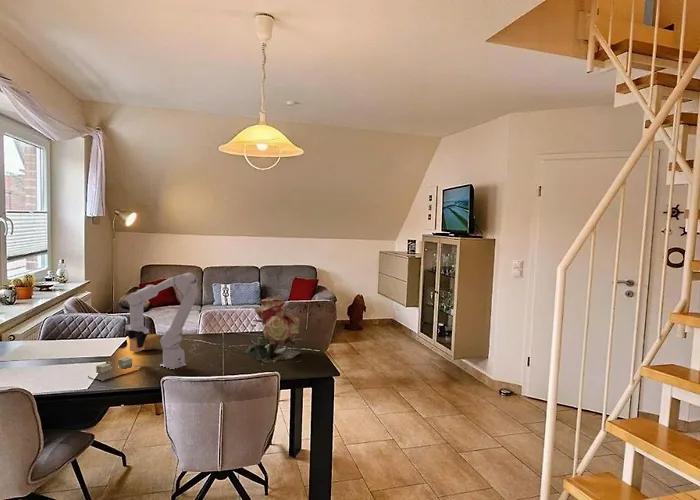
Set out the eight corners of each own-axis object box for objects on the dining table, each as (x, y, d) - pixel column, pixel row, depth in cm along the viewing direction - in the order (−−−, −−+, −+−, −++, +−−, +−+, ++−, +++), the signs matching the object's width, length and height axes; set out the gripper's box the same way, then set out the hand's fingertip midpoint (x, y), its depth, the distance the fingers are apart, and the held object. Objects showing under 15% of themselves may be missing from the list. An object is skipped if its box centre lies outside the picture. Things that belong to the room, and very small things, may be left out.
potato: (130, 348, 231) (130, 333, 231) (160, 346, 236) (160, 331, 236) (128, 354, 222) (128, 338, 222) (159, 352, 227) (159, 336, 227)
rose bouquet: (268, 366, 210) (268, 303, 208) (240, 351, 232) (240, 294, 230) (312, 356, 226) (314, 298, 224) (282, 343, 249) (283, 289, 247)
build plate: (140, 369, 202) (140, 358, 201) (101, 381, 186) (101, 370, 185) (126, 365, 206) (126, 354, 206) (87, 377, 191) (87, 365, 190)
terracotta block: (144, 349, 209) (144, 338, 209) (135, 352, 205) (135, 340, 205) (138, 348, 211) (138, 336, 211) (129, 350, 208) (129, 338, 207)
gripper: (119, 317, 207) (119, 346, 208) (139, 321, 200) (139, 351, 201) (132, 314, 213) (133, 342, 214) (152, 318, 206) (153, 347, 207)
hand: (137, 346), depth 208 cm, fingers closed on terracotta block, 4 cm apart
